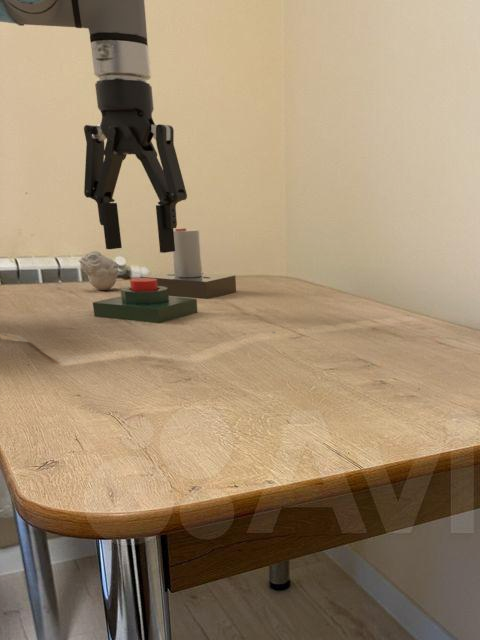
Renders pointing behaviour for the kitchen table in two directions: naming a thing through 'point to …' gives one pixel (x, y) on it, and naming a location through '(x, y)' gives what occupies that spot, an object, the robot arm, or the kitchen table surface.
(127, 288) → the block
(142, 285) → the button
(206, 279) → the panel
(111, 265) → the frog figurine
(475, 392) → the kitchen table surface
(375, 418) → the kitchen table surface
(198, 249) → the grey cylinder
